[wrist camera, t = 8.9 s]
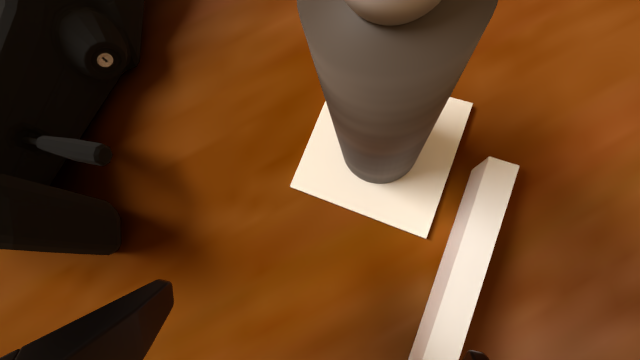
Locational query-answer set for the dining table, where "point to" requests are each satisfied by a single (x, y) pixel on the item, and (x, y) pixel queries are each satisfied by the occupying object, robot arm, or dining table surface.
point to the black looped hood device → (58, 117)
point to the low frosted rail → (465, 262)
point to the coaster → (390, 198)
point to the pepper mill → (389, 72)
